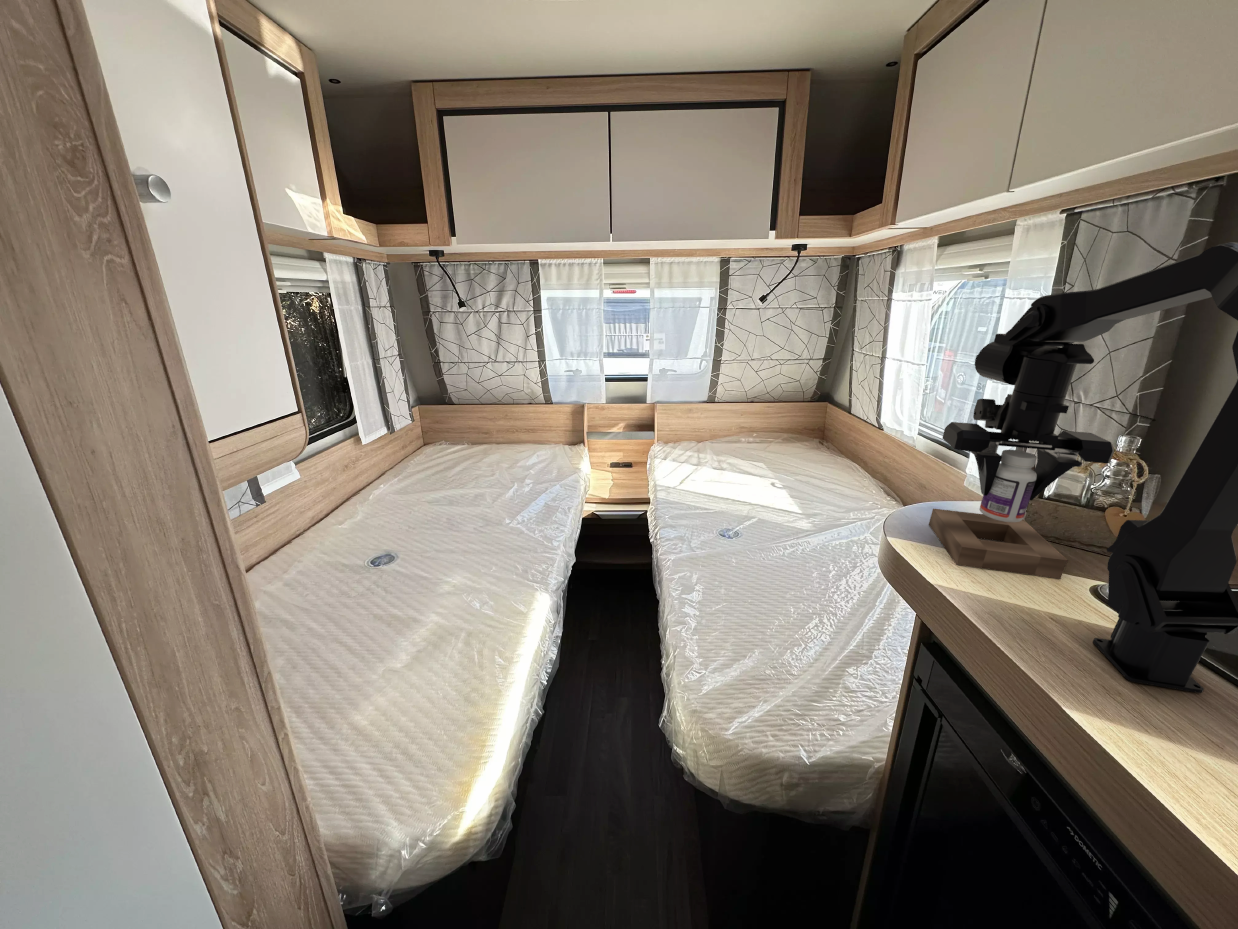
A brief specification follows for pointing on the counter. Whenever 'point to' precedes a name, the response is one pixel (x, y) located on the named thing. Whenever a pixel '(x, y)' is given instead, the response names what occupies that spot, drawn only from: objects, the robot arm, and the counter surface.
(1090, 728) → the counter surface
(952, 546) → the walnut holder
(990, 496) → the pill bottle
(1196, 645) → the robot arm
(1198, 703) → the counter surface
